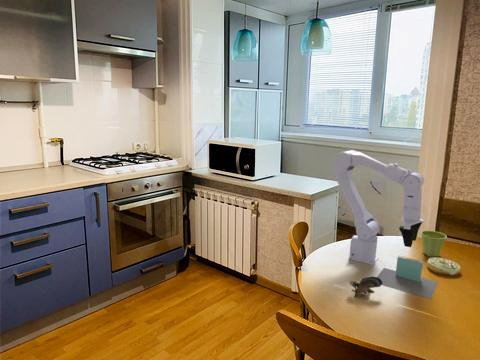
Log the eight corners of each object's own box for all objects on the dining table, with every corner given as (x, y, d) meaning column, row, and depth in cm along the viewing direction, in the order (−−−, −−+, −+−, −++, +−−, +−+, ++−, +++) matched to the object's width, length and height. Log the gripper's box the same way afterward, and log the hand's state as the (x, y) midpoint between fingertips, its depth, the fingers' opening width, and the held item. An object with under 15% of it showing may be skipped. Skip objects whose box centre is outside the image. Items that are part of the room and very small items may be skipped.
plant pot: (420, 247, 155) (423, 228, 153) (445, 253, 150) (448, 233, 148) (416, 255, 147) (418, 235, 146) (442, 261, 142) (445, 240, 140)
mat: (372, 283, 124) (372, 282, 124) (383, 268, 135) (383, 267, 135) (431, 300, 113) (431, 299, 113) (437, 283, 124) (438, 282, 124)
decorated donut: (458, 280, 127) (459, 270, 126) (424, 272, 133) (425, 262, 132) (460, 269, 135) (462, 260, 134) (428, 262, 141) (430, 253, 140)
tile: (395, 275, 129) (397, 257, 127) (396, 273, 130) (398, 255, 129) (420, 281, 124) (422, 263, 123) (420, 280, 125) (423, 261, 124)
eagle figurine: (369, 302, 110) (387, 289, 114) (358, 280, 111) (376, 268, 115) (353, 304, 116) (370, 291, 121) (342, 283, 117) (360, 271, 122)
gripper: (420, 212, 120) (418, 251, 122) (428, 203, 132) (425, 239, 134) (397, 210, 124) (396, 247, 127) (407, 201, 136) (405, 236, 138)
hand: (410, 243), depth 131 cm, fingers open, 7 cm apart
